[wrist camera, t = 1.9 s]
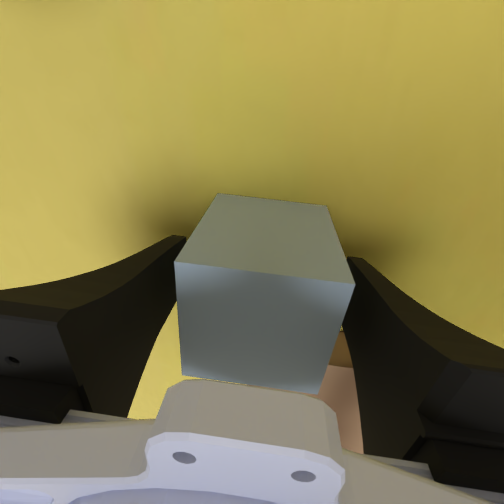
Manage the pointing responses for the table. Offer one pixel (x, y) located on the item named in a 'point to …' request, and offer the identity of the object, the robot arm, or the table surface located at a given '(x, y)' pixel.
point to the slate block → (261, 293)
